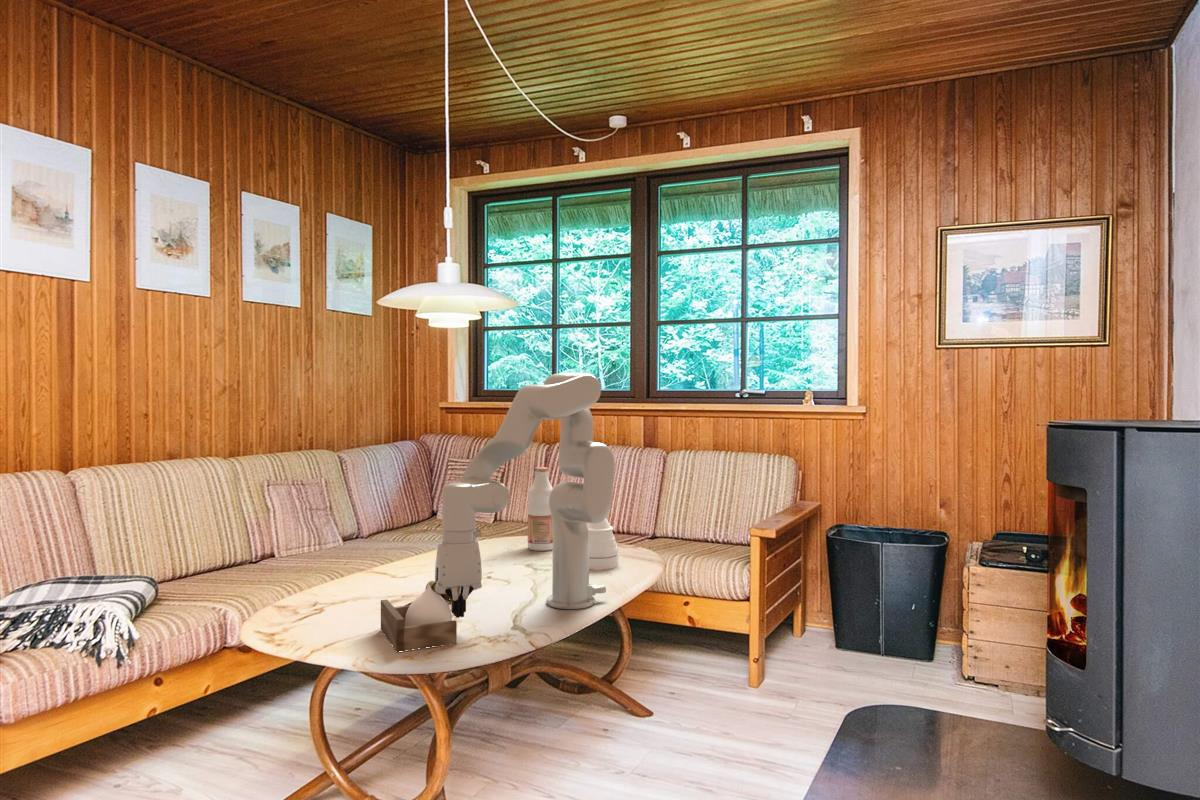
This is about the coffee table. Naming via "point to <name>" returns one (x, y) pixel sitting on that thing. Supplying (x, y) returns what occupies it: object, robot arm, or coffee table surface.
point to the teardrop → (427, 609)
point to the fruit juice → (540, 512)
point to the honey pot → (602, 546)
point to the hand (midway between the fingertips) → (458, 615)
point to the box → (414, 630)
